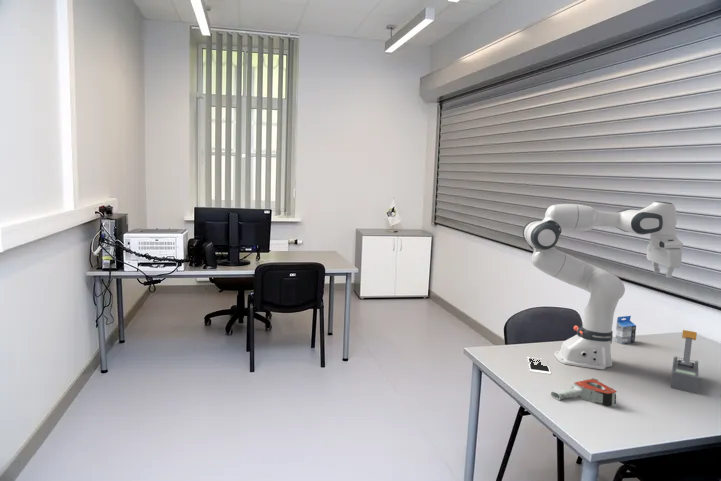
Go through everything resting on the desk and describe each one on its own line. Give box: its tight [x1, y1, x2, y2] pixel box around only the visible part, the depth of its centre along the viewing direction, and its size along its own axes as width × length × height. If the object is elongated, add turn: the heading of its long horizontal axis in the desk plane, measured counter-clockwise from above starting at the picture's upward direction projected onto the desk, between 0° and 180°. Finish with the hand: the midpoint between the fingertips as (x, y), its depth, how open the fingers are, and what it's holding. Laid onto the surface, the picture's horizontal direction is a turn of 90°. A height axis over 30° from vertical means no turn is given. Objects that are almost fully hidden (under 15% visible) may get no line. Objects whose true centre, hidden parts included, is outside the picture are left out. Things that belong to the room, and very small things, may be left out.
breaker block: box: [670, 356, 700, 395], centre depth 181 cm, size 20×8×9 cm, turn 145°
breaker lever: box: [678, 329, 698, 368], centre depth 183 cm, size 3×5×14 cm, turn 55°
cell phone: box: [526, 356, 552, 375], centre depth 193 cm, size 8×16×1 cm, turn 164°
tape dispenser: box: [550, 377, 618, 407], centre depth 165 cm, size 18×5×20 cm
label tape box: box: [614, 315, 637, 345], centre depth 226 cm, size 9×4×12 cm, turn 111°
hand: (662, 274), depth 192 cm, fingers open, 8 cm apart
